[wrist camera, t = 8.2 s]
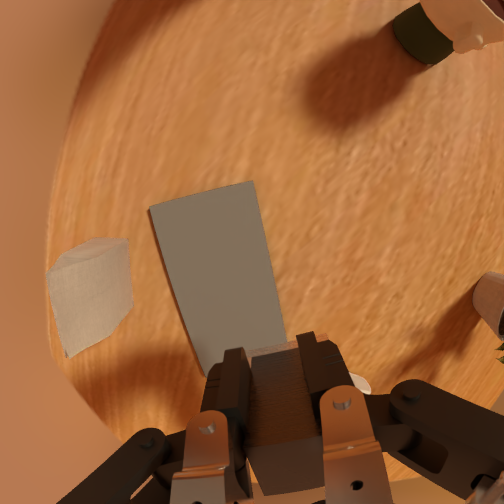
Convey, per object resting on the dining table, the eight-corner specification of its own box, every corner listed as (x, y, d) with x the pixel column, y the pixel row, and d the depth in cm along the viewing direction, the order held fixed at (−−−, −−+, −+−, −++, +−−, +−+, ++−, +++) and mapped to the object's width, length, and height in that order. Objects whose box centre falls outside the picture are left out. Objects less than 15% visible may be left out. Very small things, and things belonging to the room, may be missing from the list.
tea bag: (128, 238, 25) (68, 275, 15) (134, 305, 27) (88, 364, 17) (95, 237, 25) (29, 270, 15) (102, 301, 27) (50, 354, 17)
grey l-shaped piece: (227, 353, 14) (202, 451, 7) (325, 333, 14) (367, 422, 7) (273, 485, 16) (274, 560, 9) (343, 472, 15) (361, 545, 8)
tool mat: (151, 205, 24) (149, 206, 23) (252, 180, 24) (252, 180, 23) (206, 374, 29) (205, 377, 28) (290, 360, 28) (291, 364, 28)
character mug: (435, 97, 21) (529, 71, 8) (375, 59, 20) (453, -1, 8) (449, 26, 18) (519, -13, 6) (395, -9, 17) (453, -68, 5)
